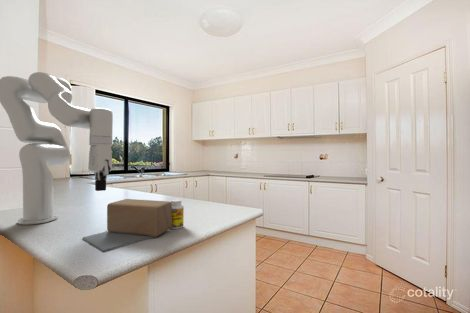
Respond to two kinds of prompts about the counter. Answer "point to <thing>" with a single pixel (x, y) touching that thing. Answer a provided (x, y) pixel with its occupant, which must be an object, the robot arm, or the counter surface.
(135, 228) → the block
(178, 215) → the supplement bottle
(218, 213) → the counter surface
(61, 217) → the counter surface
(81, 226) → the counter surface
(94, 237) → the mat
